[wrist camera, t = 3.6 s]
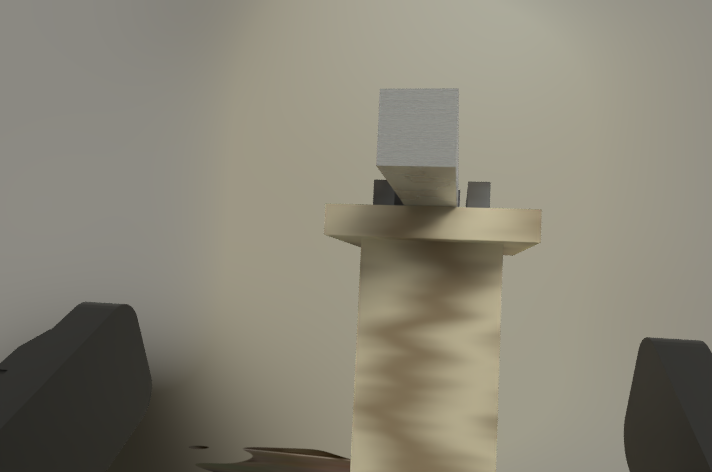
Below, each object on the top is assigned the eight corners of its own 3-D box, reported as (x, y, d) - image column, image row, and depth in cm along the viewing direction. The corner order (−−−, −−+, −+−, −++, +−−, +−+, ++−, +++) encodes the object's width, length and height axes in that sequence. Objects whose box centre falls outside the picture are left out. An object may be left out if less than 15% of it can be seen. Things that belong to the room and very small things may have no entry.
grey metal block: (458, 231, 42) (459, 194, 42) (458, 167, 18) (461, 82, 18) (420, 230, 42) (422, 193, 42) (373, 165, 19) (377, 82, 19)
